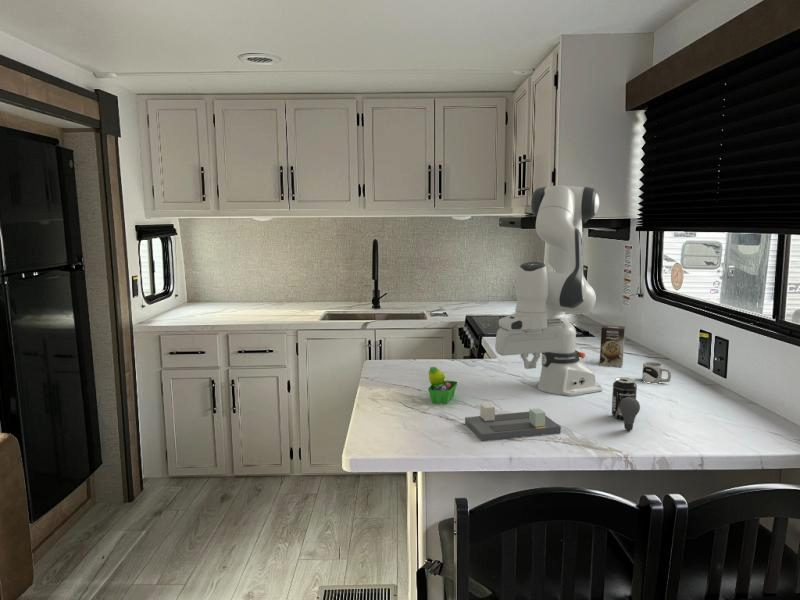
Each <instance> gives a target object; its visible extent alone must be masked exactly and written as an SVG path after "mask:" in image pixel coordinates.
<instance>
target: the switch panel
mask: <svg viewBox="0 0 800 600" xmlns="http://www.w3.org/2000/svg"><path fill="white" fill-rule="evenodd" d="M464 425H465V426H467V428H469V429H470V430H471V431H472V433H474V435H475V436H476V437H478V439H480V441H481V442H486V441H488V440H489V441H496V440H497V439H499V440H507V438H508V439H515V438H514V437H518V438H523V437H522V436H528V437H532V436H531V435H538V436H543V435H542V434H547V435H555V433H557V434H561V432H562V431H561V429H562V426H561V425H559V424H558V422H555V421H554V420H553V419H551V418H549V417H548V416H547V415H545V426H540V427H535V426H533V425H532V424H531V423H530V422H529V411H519V412H511V413H508V412H507V413H498V414H495V420H492V421H485V420H483V419H482V418H481V417H480V415H477V416H467V417H464Z"/></svg>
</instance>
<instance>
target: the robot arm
mask: <svg viewBox="0 0 800 600" xmlns="http://www.w3.org/2000/svg"><path fill="white" fill-rule="evenodd" d="M529 204H530V209H531V214H532V215H533V216H534V217H536V220H535V231H536V233H537V235H538V237H539V238H540V239H541V240H542V241H543V242H545V243H546V244H548V249H547V250H548V251H547V263H548V265H549V266H550V267H551V268H553V269H554V271H555V272H553V271H552V272H551V271H548V269H547V265H546V264H545V263H543V262H539V261H529V262H524V263H522V264H520V265H519V266H518V270H517V274H516V282H515V297H516V306H515V312H514V313H512V314H509V315H507V316H505V317H502V318H500V319H499V320H498V326H499V328H498V329H497V331H496V336H495V347H494V348H495V352H496V353H497V354H499V355H500V356H503V357H504V356H516V355H520V358H521V359H522V361H523V365H524V366H523V368H524V369H525V370H530V369H532V370H533V369H536V368H537V363H538V361H539V359H540V358H541V371H540V377H539V381H538V384H537V389H538V390H540V391H543V392H545V393H547V394H548V393H549V394H555V395H561V396H566V397H567V396H568V397H574V396H579V395H580V396H581V395H585V394H590V393H591V394H592V393H597V392H603V386H602V385H601V384H599V382H597V381H596V375H595V373H594V371H593V370H592V369H591V368H589V366H588V365H586V364H585V363H584V362H582V361H581V360H580V359H585V358H586V353H585V352H583V351H578V350H577V349H576V339H577V337H576V335H577V330H576V328H575V325H574V324H572V323H571V322H570V321H569V320H568V318H567V314H570V315H571V314H572V315H580V314H588V313H590V312H591V310H593V308H594V307H595V305H596V301H597V296H596V291H595V290H594V287H593V286H591V285H590V284H589V282H588V281H587V279H586V277H585V275H584V274H585V273H584V250H583V249H584V246H583V224H586V223H587V221H589V220H592V219H593V218H594V217H595V216H596V215H597V212H598V211H599V208H600V196H599V193H598V191H597V190H596V189H595V188H593V187H589V186H585V187H584V186H583V187H582V186H575V185H574V186H573V185H559V184H557V185H553V186H549V187H547V186H542V187H538V188H536V189H535V190H534V191H533V193H532V196H531V197H530V203H529ZM531 354H532V356H533V357H532V359H531V360H528V358H529V355H531Z"/></svg>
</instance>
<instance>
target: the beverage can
mask: <svg viewBox="0 0 800 600" xmlns="http://www.w3.org/2000/svg"><path fill="white" fill-rule="evenodd" d="M635 381H636V380H635V379H634V378H630V377H623V376H622V377H619V376H618V377H616V378H615V380H614V382H613V383H612V396H611V397H612V398H611V414H612V416H613V417H614V418H616V419H618V420H622V421H624V419H623V414H622V413H621V410H620V407H619V405H620V402H621V400H622V399H623V398H626V397H633V398H635V399H636V400H637V389H638V388H637V387H638V385H637V384H636V382H635Z"/></svg>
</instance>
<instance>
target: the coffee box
mask: <svg viewBox="0 0 800 600" xmlns="http://www.w3.org/2000/svg"><path fill="white" fill-rule="evenodd" d="M625 332H626V326H622V325H610V324H602V325H601V331H600V333H601V334H600V349H599V364H598V365H599V366H601V367H602V366H603V367H610V366H612V367H614V368H621V367H622V366H623V365H624V353H625V352H624V349H625V348H624V347H625V337H626V336H625V335H626V333H625ZM612 367H611V368H612ZM622 368H623V367H622Z"/></svg>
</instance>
